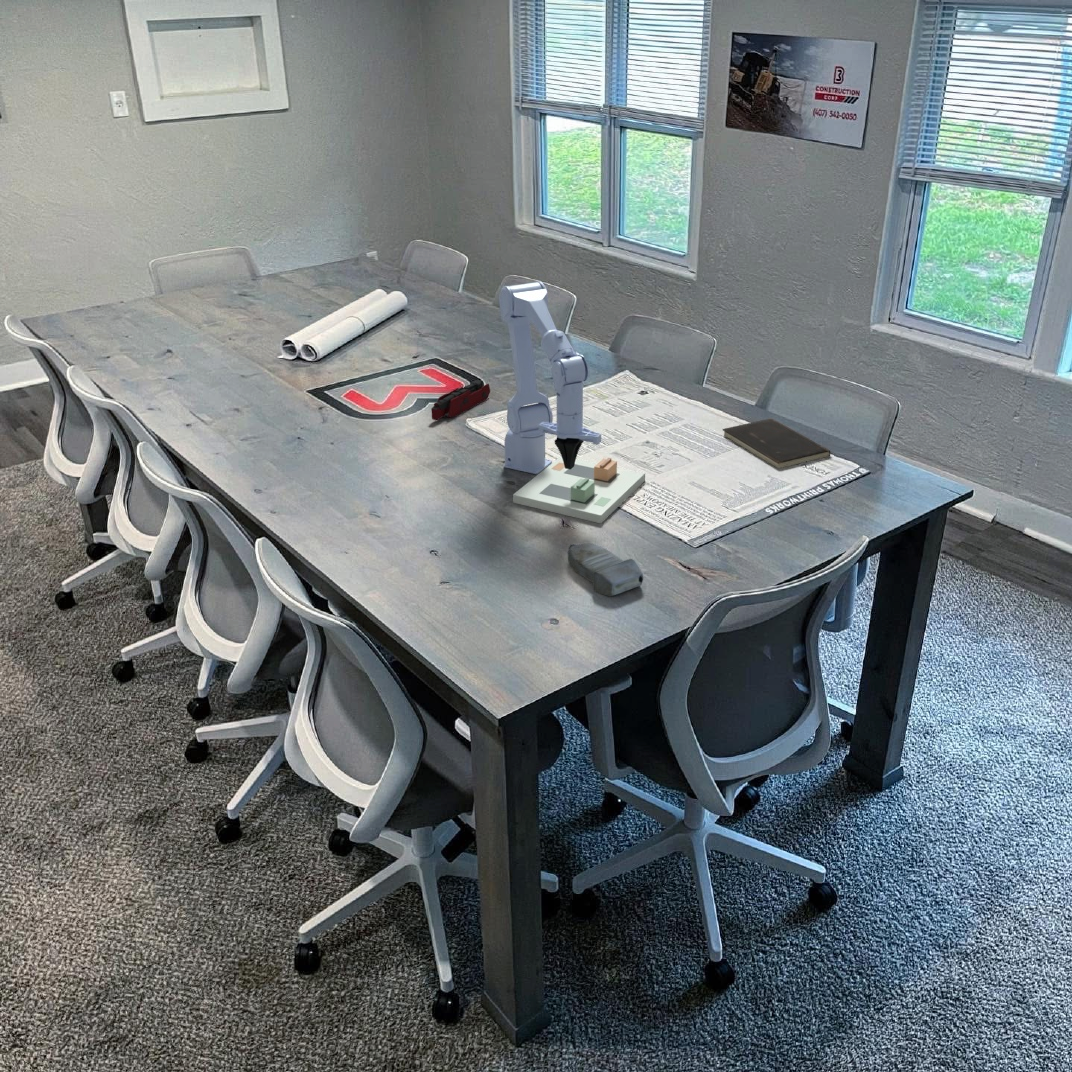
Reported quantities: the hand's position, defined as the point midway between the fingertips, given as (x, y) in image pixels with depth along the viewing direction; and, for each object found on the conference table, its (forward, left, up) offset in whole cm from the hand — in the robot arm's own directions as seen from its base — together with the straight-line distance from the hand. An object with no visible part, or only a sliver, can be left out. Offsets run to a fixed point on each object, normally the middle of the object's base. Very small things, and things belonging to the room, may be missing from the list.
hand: (569, 467), depth 235 cm
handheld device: (+20, -26, -9) cm, 34 cm away
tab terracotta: (+4, +12, -6) cm, 13 cm away
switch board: (0, +6, -8) cm, 10 cm away
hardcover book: (+32, +51, -9) cm, 61 cm away
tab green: (+4, 0, -6) cm, 7 cm away
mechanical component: (-52, +36, -9) cm, 64 cm away
